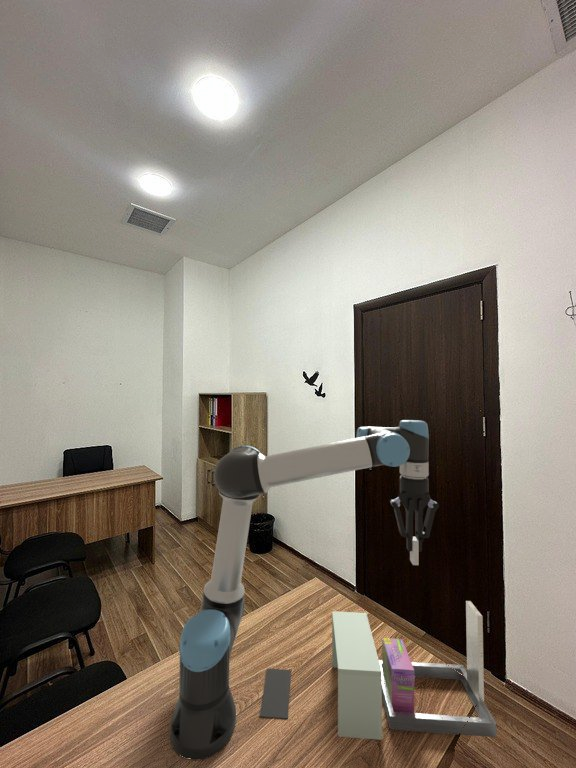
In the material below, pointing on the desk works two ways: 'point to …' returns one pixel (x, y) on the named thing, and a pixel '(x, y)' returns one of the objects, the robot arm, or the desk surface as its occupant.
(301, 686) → the desk surface
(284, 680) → the mat
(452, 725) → the frame
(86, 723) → the desk surface
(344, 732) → the sage green tall block
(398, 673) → the box
